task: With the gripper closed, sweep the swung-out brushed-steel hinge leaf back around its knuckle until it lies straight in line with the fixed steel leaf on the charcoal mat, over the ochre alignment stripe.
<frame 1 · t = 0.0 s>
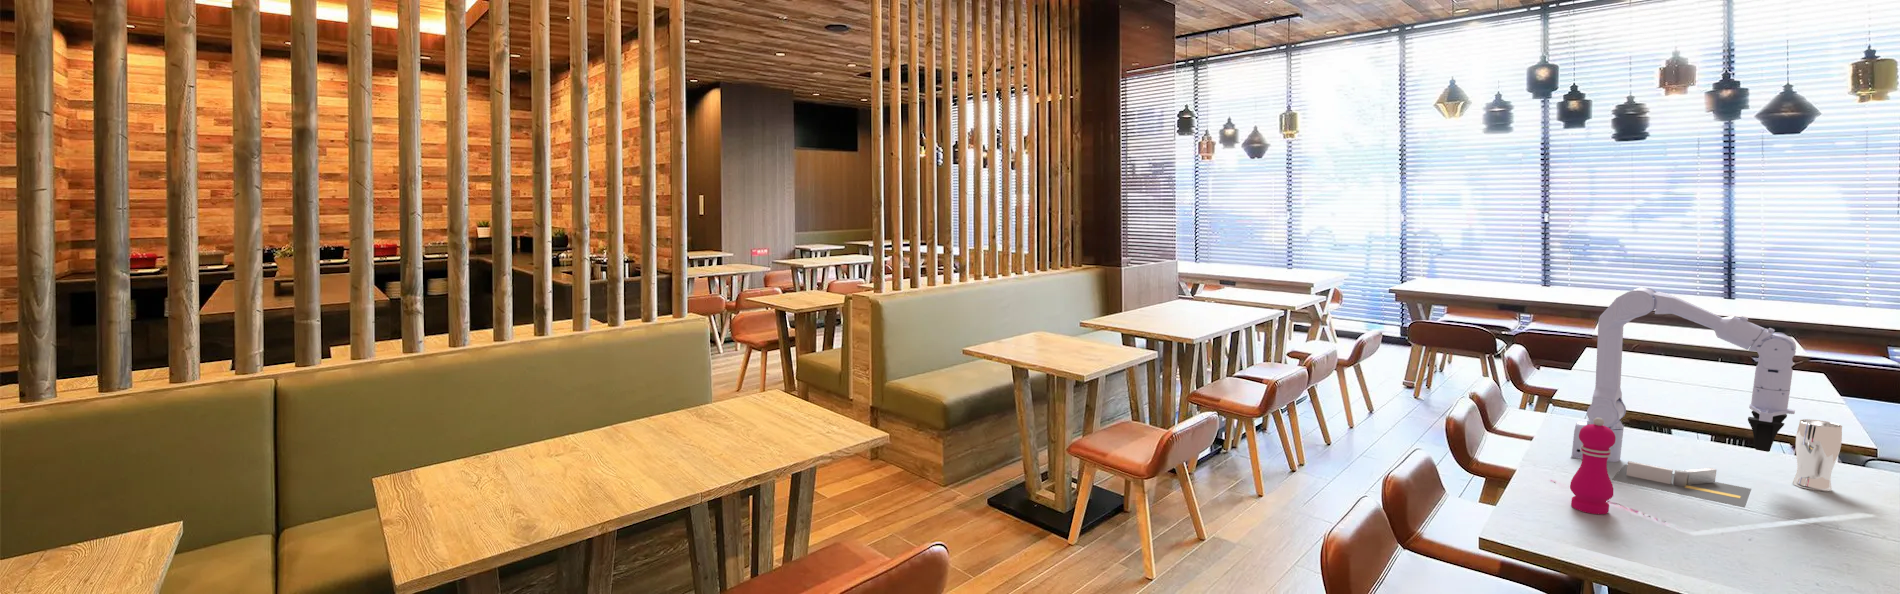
hand: (1763, 446, 180), 10 cm above the table, fingers open, 7 cm apart
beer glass: (1811, 487, 183), on the table
pepper mill: (1589, 509, 170), on the table
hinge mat: (1679, 487, 183), on the table
hinge leaf: (1699, 476, 183), point 3 cm above the table, hinge at 60.0°
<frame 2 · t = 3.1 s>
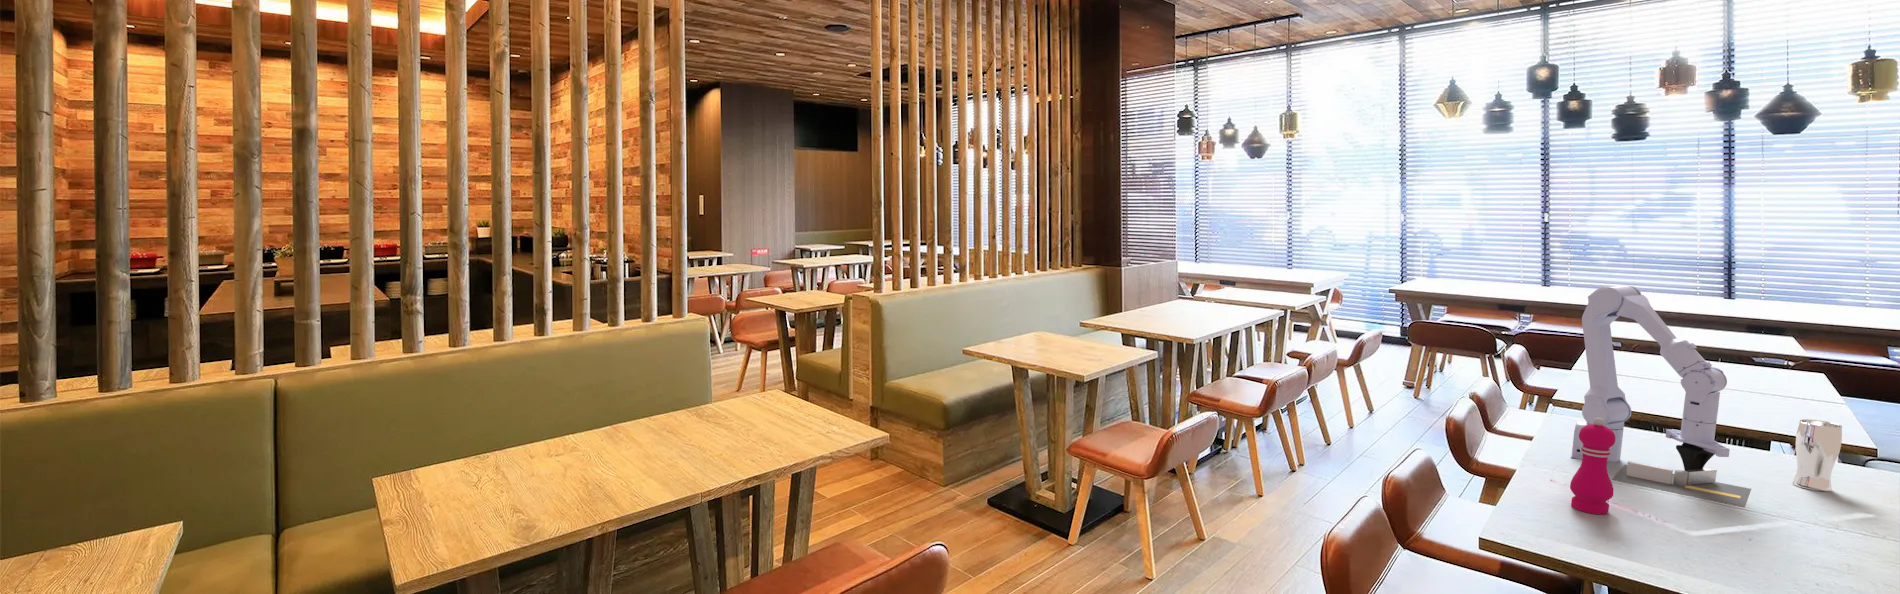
hand: (1691, 477, 185), 2 cm above the table, fingers closed
hinge leaf: (1699, 476, 183), point 3 cm above the table, hinge at 59.6°, touching gripper
everything else where it was.
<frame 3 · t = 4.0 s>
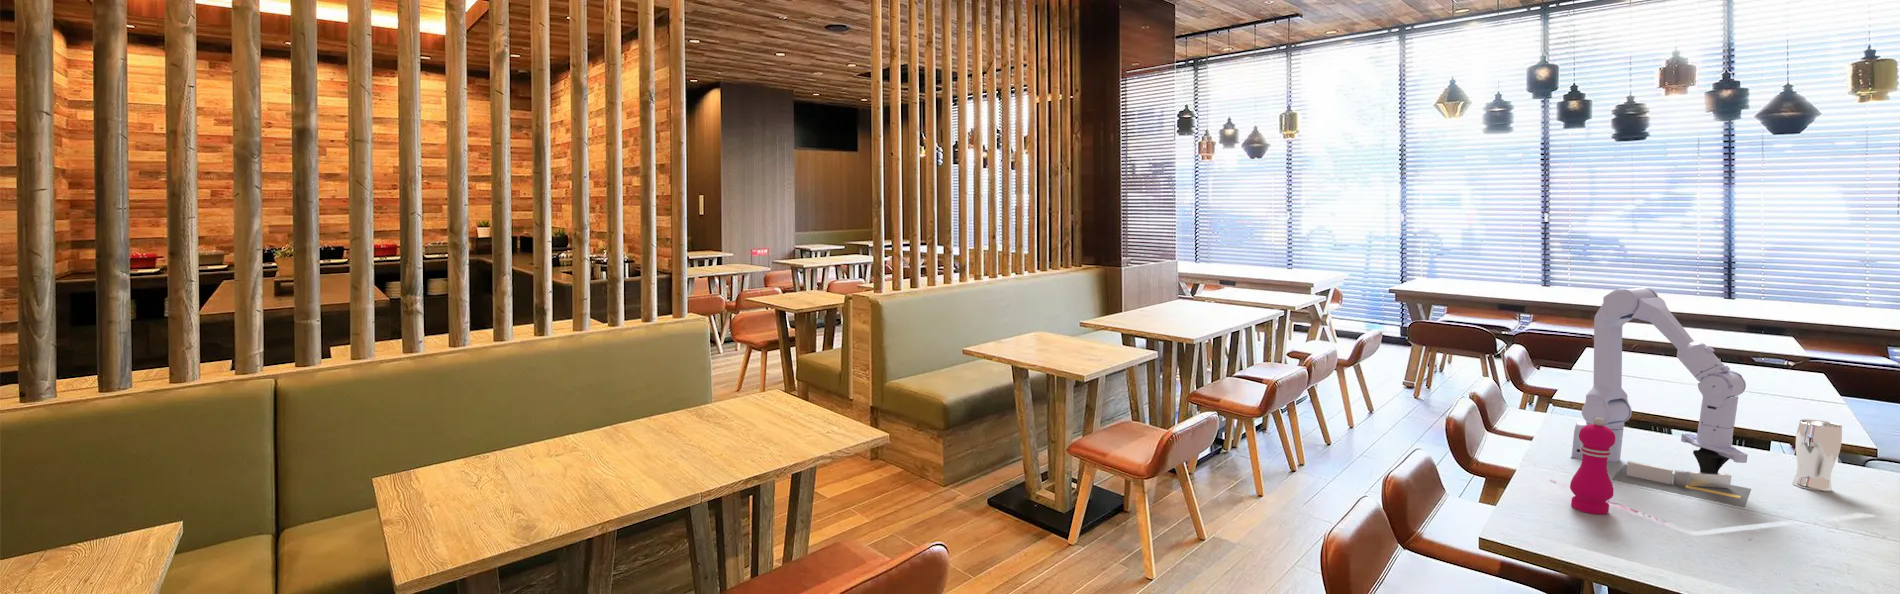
hand: (1707, 482, 182), 1 cm above the table, fingers closed, pressing on hinge leaf
hinge leaf: (1708, 479, 181), point 2 cm above the table, hinge at 36.4°, touching gripper
everything else where it was.
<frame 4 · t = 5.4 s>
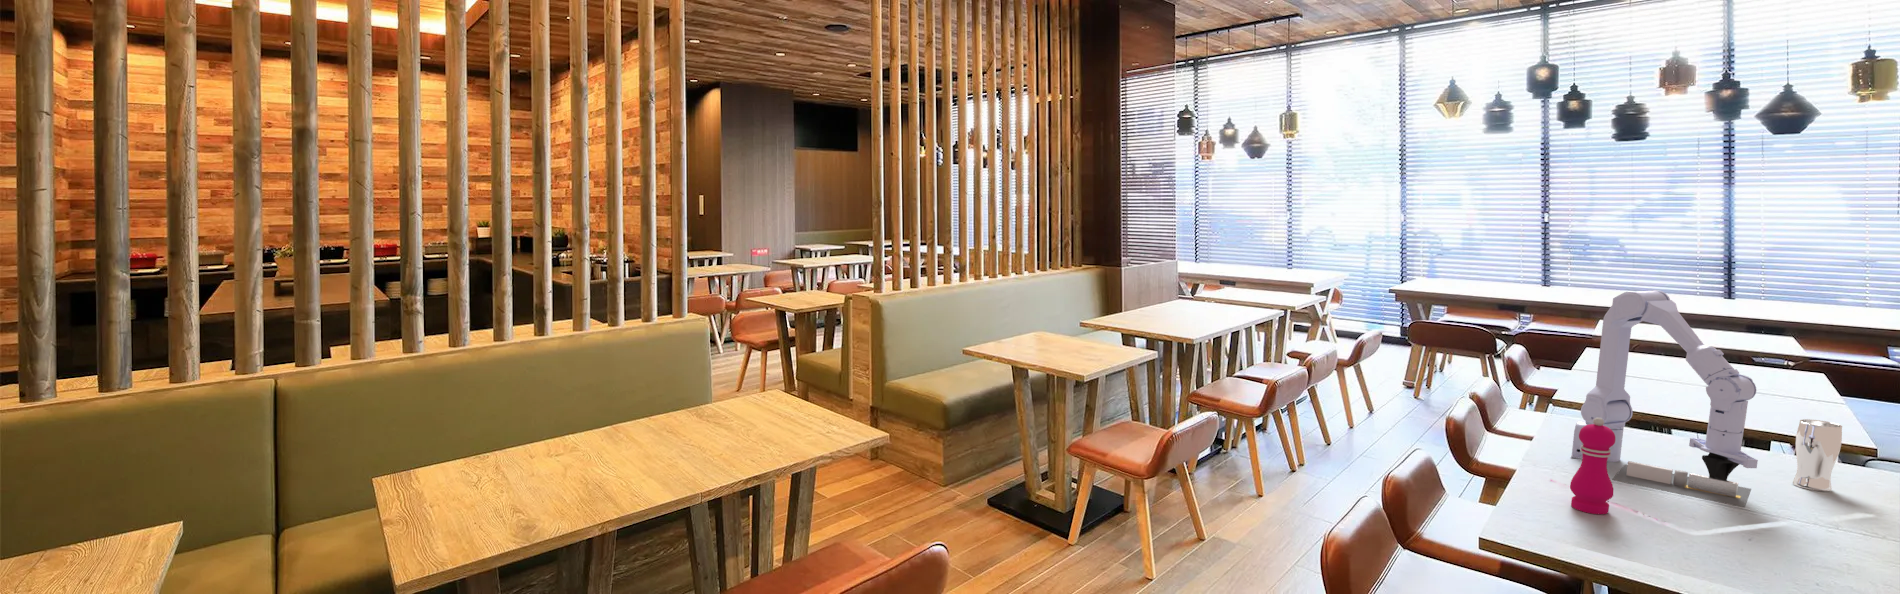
hand: (1716, 488, 179), 1 cm above the table, fingers closed, pressing on hinge leaf
hinge leaf: (1712, 484, 177), point 3 cm above the table, hinge at -5.2°, touching gripper
everything else where it was.
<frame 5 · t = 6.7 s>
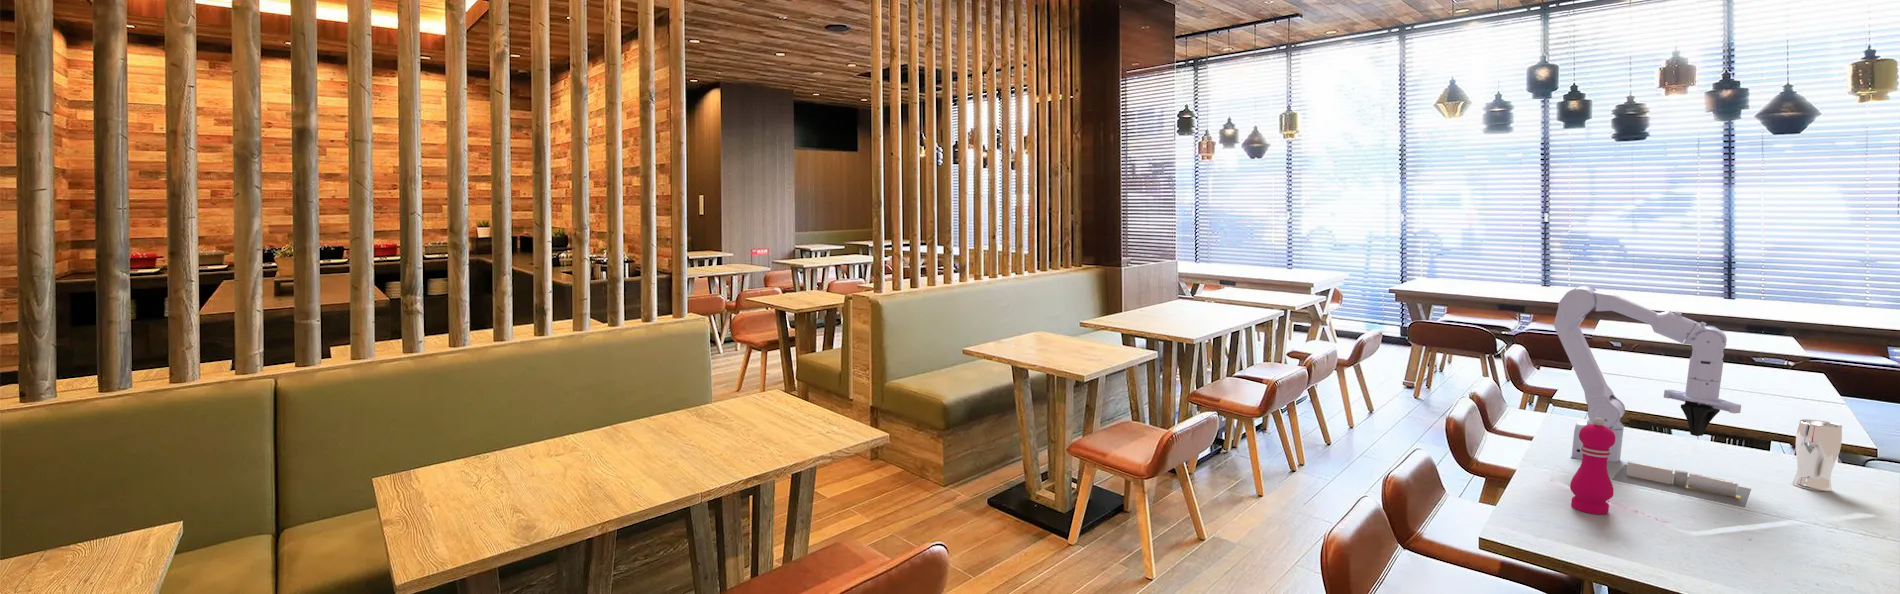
hand: (1696, 435, 189), 10 cm above the table, fingers closed
hinge leaf: (1712, 484, 177), point 3 cm above the table, hinge at -5.1°
everything else where it was.
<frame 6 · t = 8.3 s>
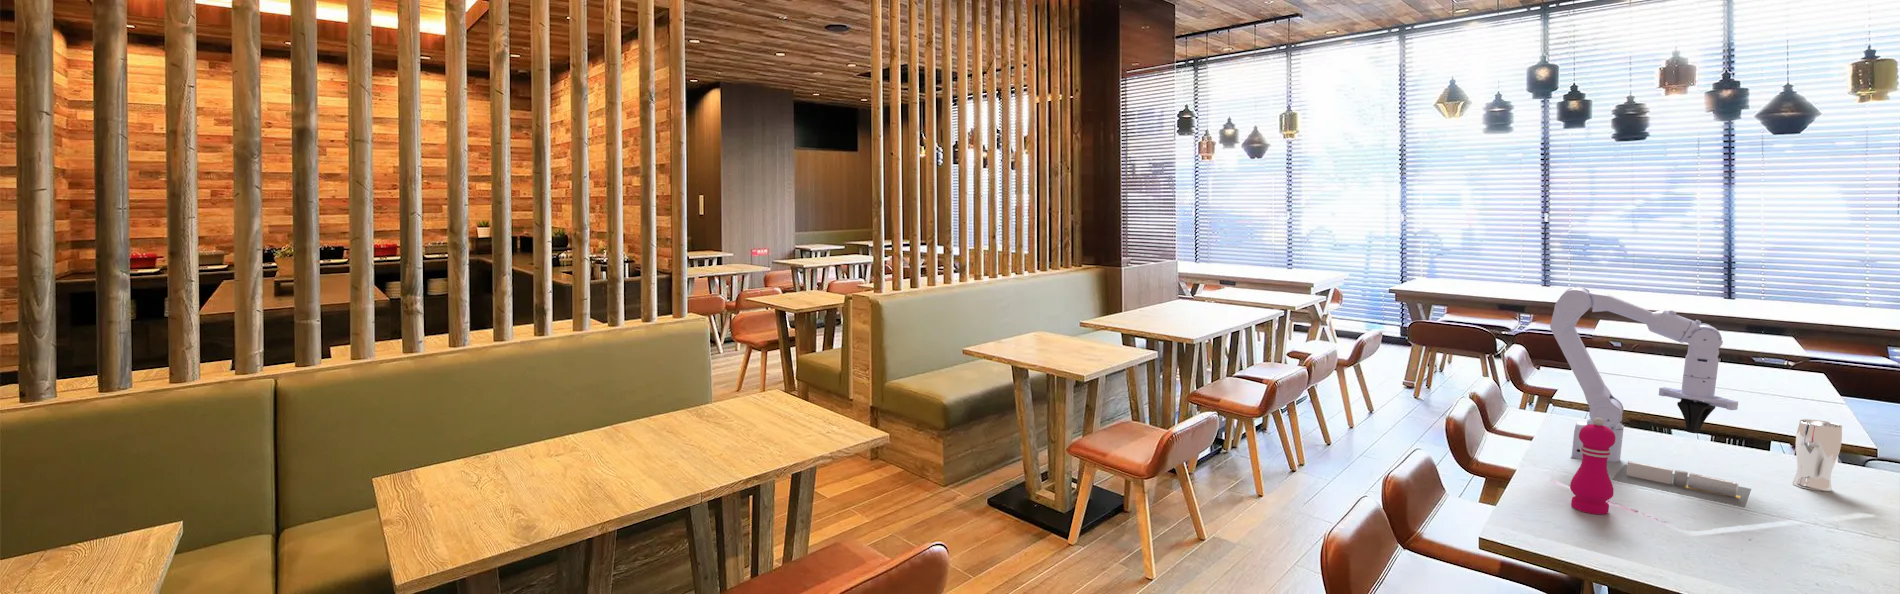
hand: (1692, 432, 190), 10 cm above the table, fingers closed
nothing on the table moved.
at the end: hinge leaf at -5° (first picture: +60°) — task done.
